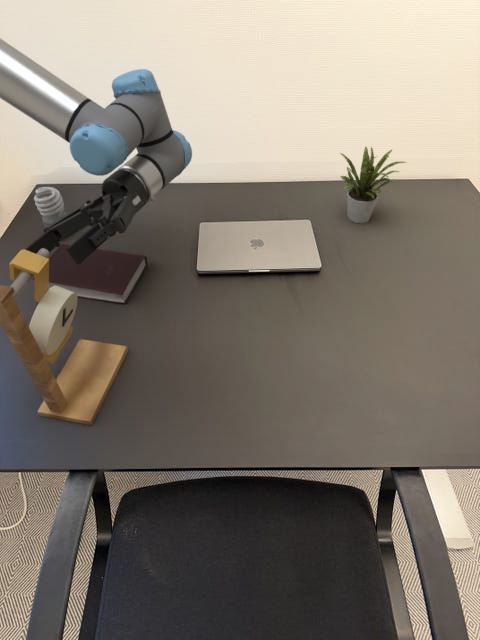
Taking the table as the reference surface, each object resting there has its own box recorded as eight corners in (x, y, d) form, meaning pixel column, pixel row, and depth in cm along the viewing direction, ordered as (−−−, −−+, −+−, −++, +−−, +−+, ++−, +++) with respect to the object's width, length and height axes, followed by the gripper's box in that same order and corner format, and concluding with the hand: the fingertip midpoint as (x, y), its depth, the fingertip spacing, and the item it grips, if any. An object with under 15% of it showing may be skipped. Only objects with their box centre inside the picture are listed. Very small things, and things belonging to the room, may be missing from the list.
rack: (39, 415, 75) (-33, 297, 56) (81, 343, 85) (33, 223, 66) (92, 425, 73) (36, 308, 54) (128, 350, 84) (92, 229, 65)
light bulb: (77, 229, 109) (62, 182, 100) (67, 243, 105) (50, 197, 97) (55, 227, 110) (38, 180, 101) (44, 241, 106) (25, 194, 97)
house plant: (406, 228, 107) (425, 162, 95) (353, 243, 104) (367, 176, 92) (372, 197, 116) (385, 133, 104) (322, 209, 113) (331, 144, 101)
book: (66, 252, 103) (61, 240, 101) (148, 264, 100) (145, 252, 97) (36, 291, 95) (30, 279, 92) (125, 305, 91) (122, 293, 89)
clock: (1, 355, 70) (-7, 280, 58) (35, 308, 77) (34, 232, 64) (48, 371, 71) (50, 301, 58) (77, 324, 78) (84, 252, 65)
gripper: (191, 197, 78) (111, 276, 66) (101, 212, 93) (22, 279, 81) (170, 155, 74) (80, 231, 62) (79, 178, 89) (-7, 243, 77)
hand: (47, 258), depth 72 cm, fingers open, 13 cm apart
